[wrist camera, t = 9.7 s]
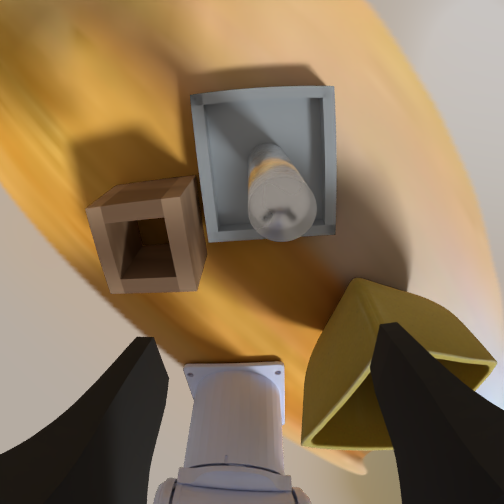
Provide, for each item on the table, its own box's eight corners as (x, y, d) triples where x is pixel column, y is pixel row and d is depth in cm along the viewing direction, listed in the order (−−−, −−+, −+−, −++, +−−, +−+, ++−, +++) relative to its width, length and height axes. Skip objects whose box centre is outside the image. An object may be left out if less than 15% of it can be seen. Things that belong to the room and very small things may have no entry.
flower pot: (287, 343, 23) (297, 449, 15) (337, 242, 19) (385, 344, 11) (382, 361, 24) (413, 449, 16) (438, 277, 20) (501, 362, 12)
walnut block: (207, 254, 20) (196, 291, 16) (133, 259, 20) (110, 293, 16) (195, 175, 17) (179, 196, 14) (115, 185, 18) (85, 208, 14)
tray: (329, 224, 19) (335, 234, 17) (211, 231, 19) (208, 242, 18) (327, 86, 15) (334, 86, 14) (195, 95, 15) (189, 94, 14)
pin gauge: (287, 178, 17) (316, 239, 10) (249, 180, 17) (250, 243, 10) (285, 141, 16) (316, 175, 9) (246, 143, 16) (245, 178, 9)
